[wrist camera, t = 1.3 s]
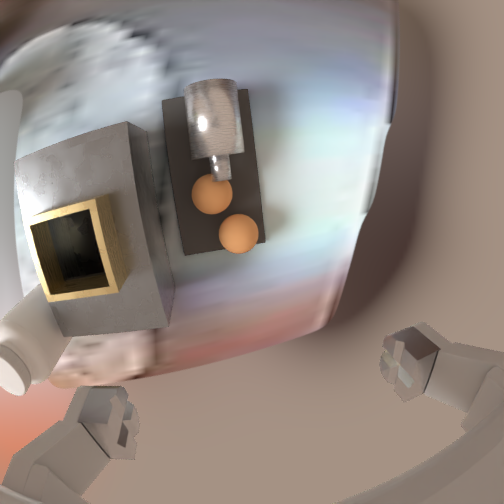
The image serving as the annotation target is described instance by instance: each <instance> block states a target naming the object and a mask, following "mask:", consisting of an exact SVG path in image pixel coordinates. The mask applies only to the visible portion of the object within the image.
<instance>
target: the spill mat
mask: <svg viewBox="0 0 504 504" xmlns="http://www.w3.org/2000/svg"><path fill="white" fill-rule="evenodd" d="M237 92H238V101H239V109H240V117H241V125H242V133H243V141H244V150H245V152H244V153H237V154H230V155H229V159H230V167H231V175H232V179H230V180H228V182H229V183H230V185H231V188H232V200H231V202H230V204H229V206H228V207H227V208H226V209H225V210H224V211H222V212H220V213H217V214H206V213H203V212H201V211H200V210H199V209H198V208H197V207H196V206H195V205H194V203H193V200H192V188H193V186H194V184H195V182H196V181H197V180H198V179H199V178H200V177H202V176H204V175H206V174H211V168H210V161H209V158H202V159H194V160H192V157H191V149H190V141H189V133H188V125H187V116H186V107H185V98H184V97H178V98H172V99H167V100H162V109H163V119H164V128H165V136H166V144H167V152H168V159H169V167H170V173H171V180H172V187H173V193H174V199H175V205H176V211H177V217H178V222H179V228H180V233H181V238H182V244H183V249H184V254H185V256H186V255H191V254H198V253H204V252H210V251H216V250H222V249H225V248H224V247H223V245H222V244H221V242H220V239H219V229H220V226H221V224H222V222H223V221H224V220H225V219H226V218H227V217H229V216H231V215H234V214H243V215H246V216H248V217H250V218H251V219H252V220H253V221H254V222H255V223H256V225H257V228H258V240H257V242H256V244H259V243H265V233H264V224H263V215H262V206H261V197H260V188H259V179H258V170H257V161H256V153H255V144H254V136H253V128H252V120H251V112H250V104H249V96H248V89H241V90H237Z"/></svg>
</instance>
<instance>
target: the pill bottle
mask: <svg viewBox="0 0 504 504" xmlns="http://www.w3.org/2000/svg"><path fill="white" fill-rule="evenodd" d="M71 339H72V337H63V335H62V333H61V330H60V328H59V326H58V324H57V322H56V319H55V317H54V315H53V312H52V310H51V307H50V305H49V302H48V301H47V298H46V295H45V293H44V290H43V287H42V285H41V283H40V284H39V285H37V286H36V287H35V288H34V289H33V290H32V291H31V292H30V293H28V294H27V295H26V296H25V297H24V298H23V299H22V300H21V301H20V302H19V303H18V304H17V305H16V306H15V307H14V308H13V309H12V310H10V311H9V312H8V313H7V314H6V315H5V316H4V318H2V319H1V320H0V386H1V387H2V388H4V389H5V390H6V391H8V392H10V393H11V394H14V395H17V396H21V395H24V394H25V393H26V392H27V390H28V388H29V386H30V384H39V383H42V382H43V381H45V380H46V379H47V378H48V377H49V376H50V374H51V372H52V371H53V369H54V367H55V365H56V364H57V362H58V360H59V358H60V357H61V355H62V353H63V352H64V350H65V348H66V347H67V345H68V343H69V342H70V340H71Z"/></svg>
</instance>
